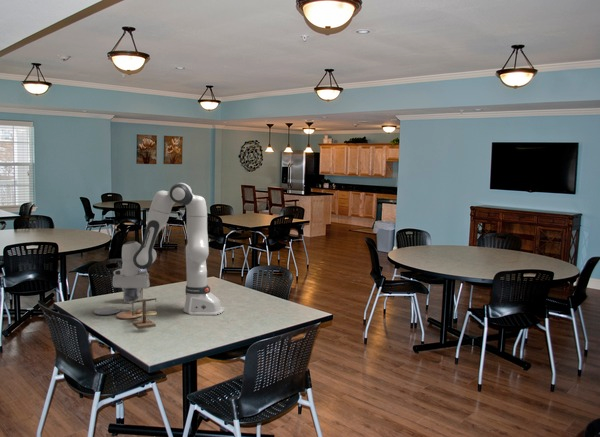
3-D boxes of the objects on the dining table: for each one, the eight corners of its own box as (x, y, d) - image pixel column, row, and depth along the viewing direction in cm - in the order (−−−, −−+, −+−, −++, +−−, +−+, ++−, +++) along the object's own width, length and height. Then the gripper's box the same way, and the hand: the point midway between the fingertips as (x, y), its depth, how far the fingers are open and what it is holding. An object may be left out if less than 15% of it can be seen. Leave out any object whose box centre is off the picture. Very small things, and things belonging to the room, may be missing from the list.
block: (138, 298, 287) (137, 288, 287) (134, 300, 282) (133, 290, 282) (129, 298, 288) (129, 287, 287) (125, 300, 283) (124, 289, 282)
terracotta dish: (146, 313, 279) (146, 311, 279) (135, 320, 267) (135, 318, 266) (123, 312, 281) (123, 310, 281) (111, 318, 268) (111, 316, 268)
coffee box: (136, 299, 310) (136, 272, 308) (143, 301, 306) (143, 274, 304) (123, 302, 302) (122, 274, 301) (129, 304, 298) (129, 276, 297)
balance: (160, 329, 252) (160, 298, 251) (144, 332, 248) (144, 301, 246) (143, 318, 271) (143, 289, 269) (128, 320, 266) (128, 291, 264)
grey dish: (123, 310, 285) (123, 308, 285) (112, 316, 272) (112, 314, 272) (101, 308, 287) (101, 306, 287) (89, 314, 274) (88, 312, 274)
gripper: (151, 270, 285) (152, 295, 286) (116, 269, 288) (117, 293, 289) (146, 272, 279) (147, 297, 280) (110, 271, 282) (111, 296, 283)
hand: (131, 295), depth 285 cm, fingers closed on block, 5 cm apart
